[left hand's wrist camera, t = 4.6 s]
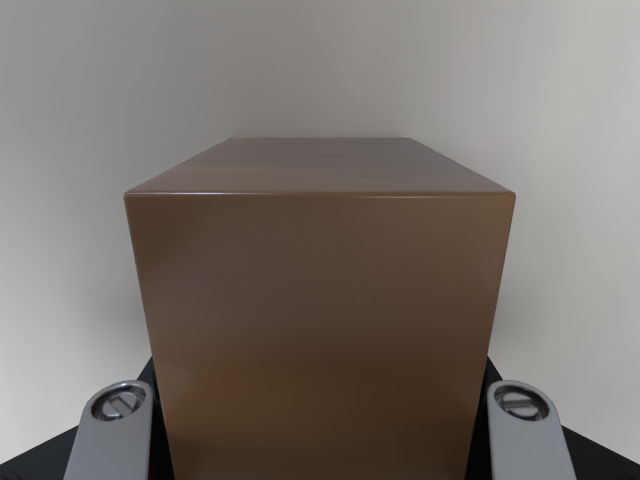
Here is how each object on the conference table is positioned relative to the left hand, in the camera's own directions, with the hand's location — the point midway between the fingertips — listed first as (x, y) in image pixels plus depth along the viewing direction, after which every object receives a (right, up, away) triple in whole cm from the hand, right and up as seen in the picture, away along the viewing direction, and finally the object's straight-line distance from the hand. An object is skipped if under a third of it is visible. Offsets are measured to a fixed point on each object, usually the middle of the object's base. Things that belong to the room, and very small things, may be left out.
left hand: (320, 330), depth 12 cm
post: (0, -22, +10) cm, 24 cm away
